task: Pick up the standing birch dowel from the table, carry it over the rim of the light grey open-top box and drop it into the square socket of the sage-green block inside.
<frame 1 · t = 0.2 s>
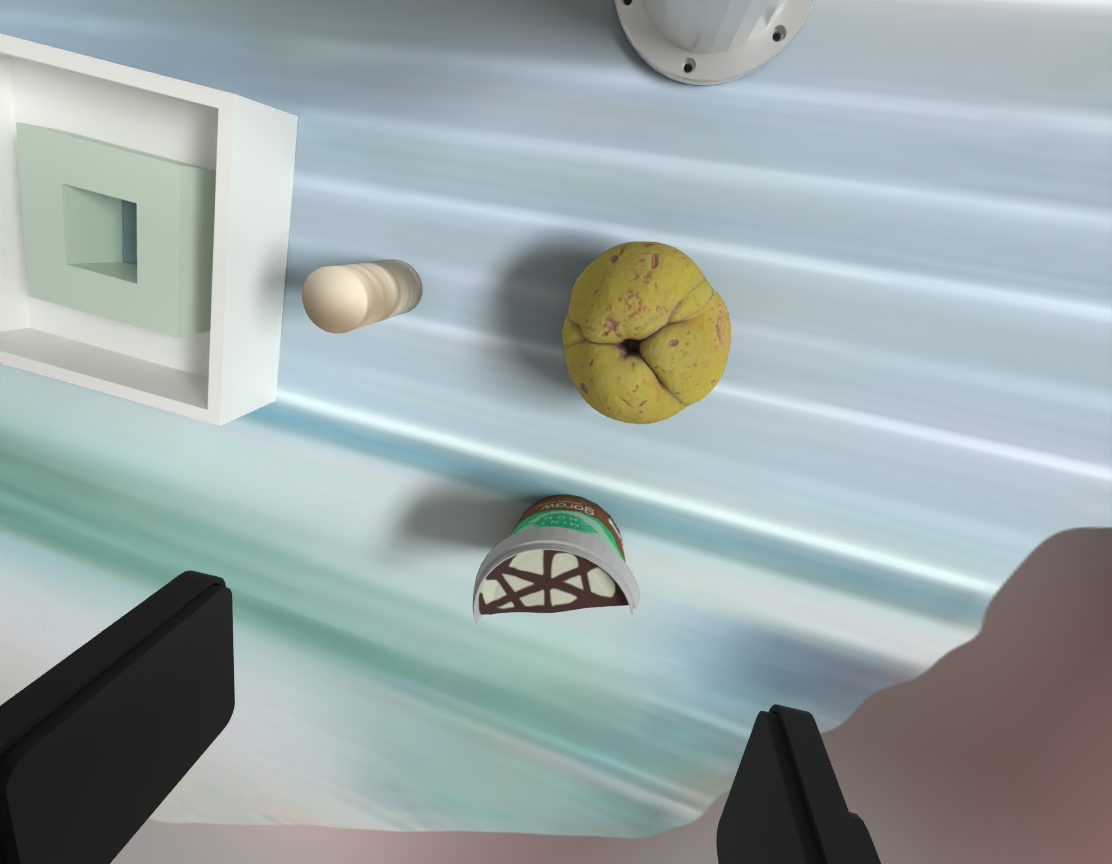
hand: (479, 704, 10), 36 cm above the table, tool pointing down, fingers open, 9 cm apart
fruit: (643, 325, 43), on the table
box: (155, 234, 46), on the table
food container: (562, 514, 49), on the table
peg: (397, 287, 45), on the table
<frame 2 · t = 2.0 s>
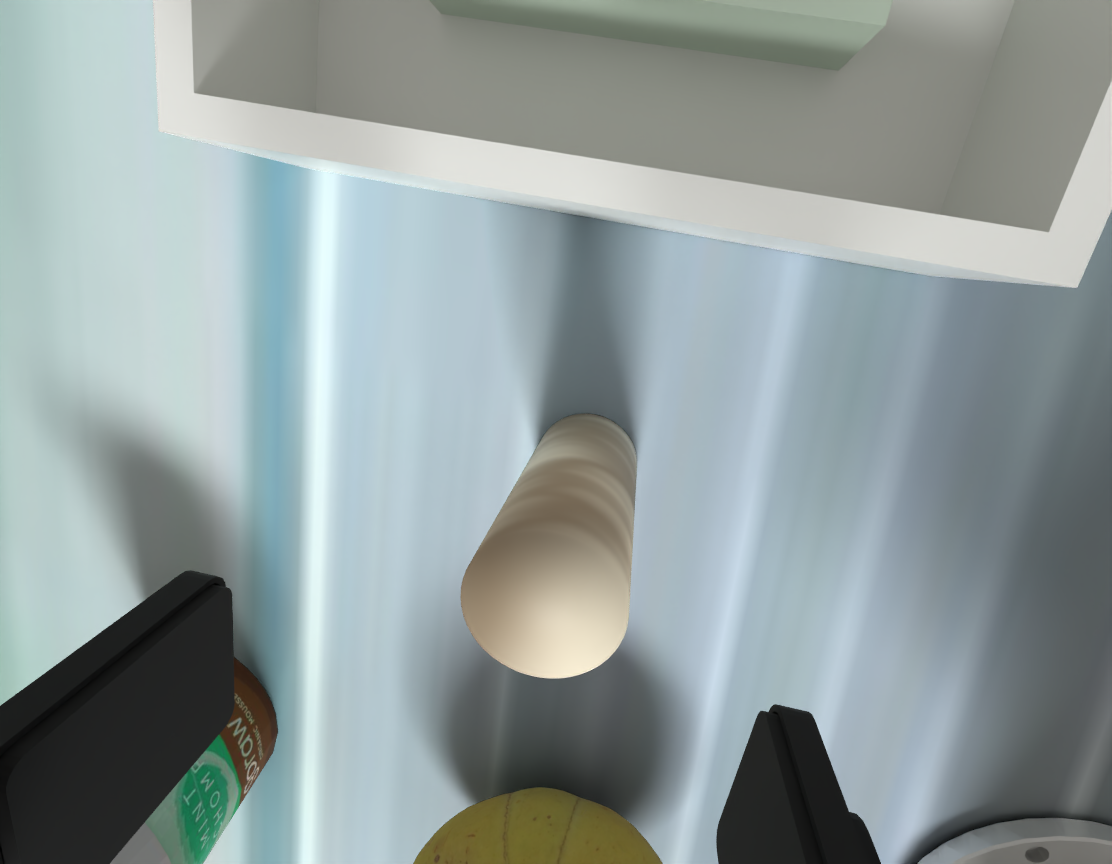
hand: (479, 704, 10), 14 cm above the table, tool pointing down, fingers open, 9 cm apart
fruit: (556, 817, 29), on the table
food container: (242, 702, 30), on the table
peg: (586, 462, 23), on the table
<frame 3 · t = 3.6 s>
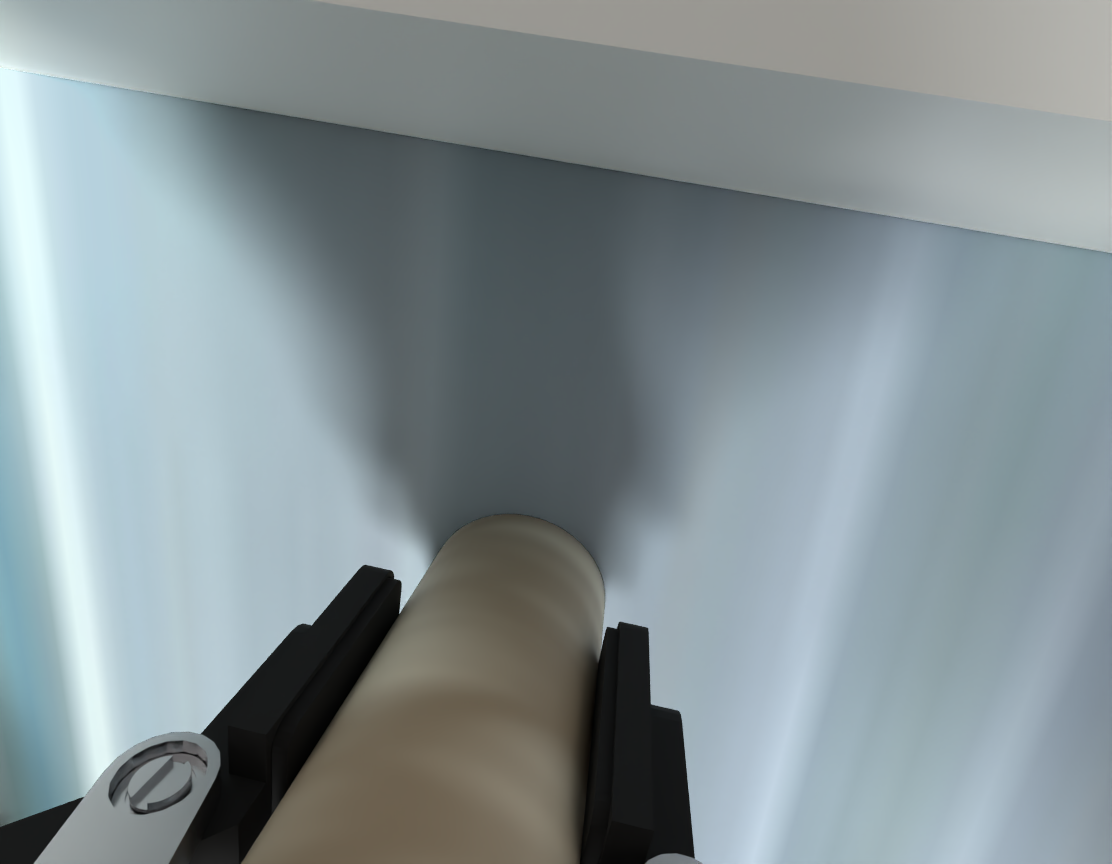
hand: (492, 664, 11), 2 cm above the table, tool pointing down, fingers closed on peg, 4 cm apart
peg: (516, 593, 13), on the table, touching gripper
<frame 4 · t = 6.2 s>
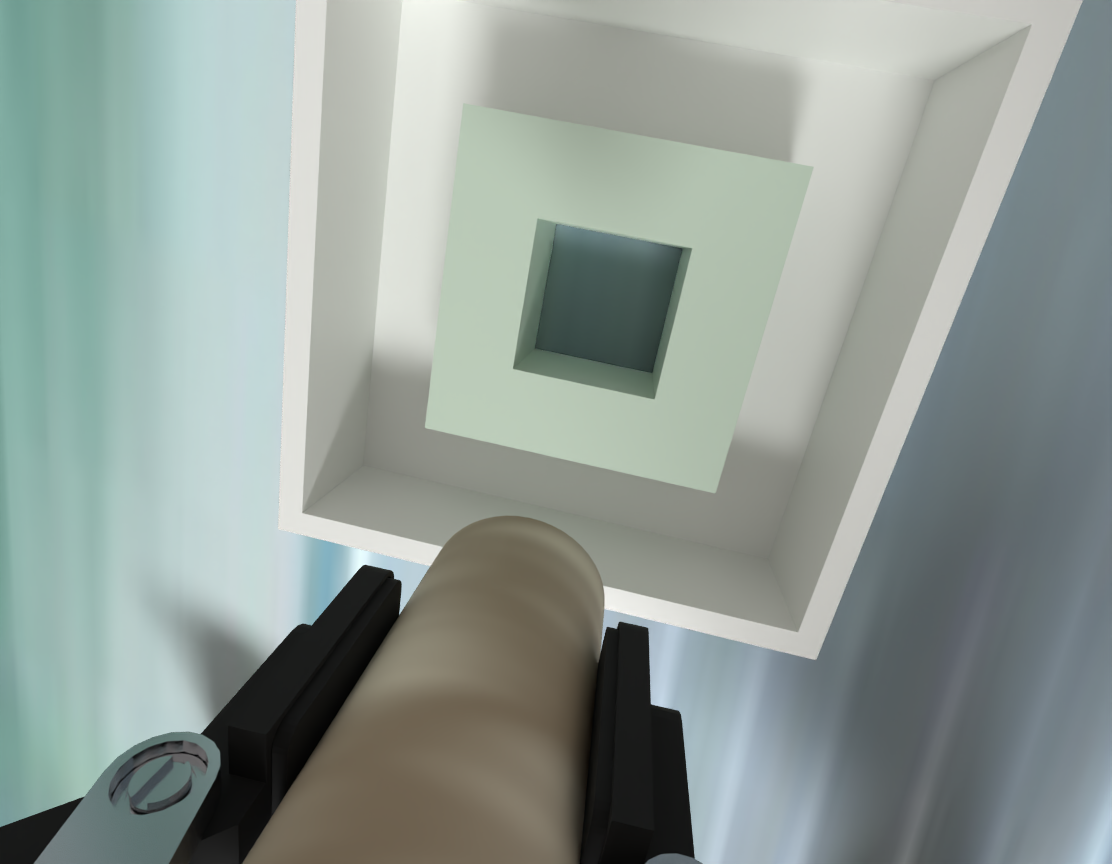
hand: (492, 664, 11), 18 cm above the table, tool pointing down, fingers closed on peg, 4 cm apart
box: (605, 300, 26), on the table
peg: (516, 595, 13), point 16 cm above the table, touching gripper
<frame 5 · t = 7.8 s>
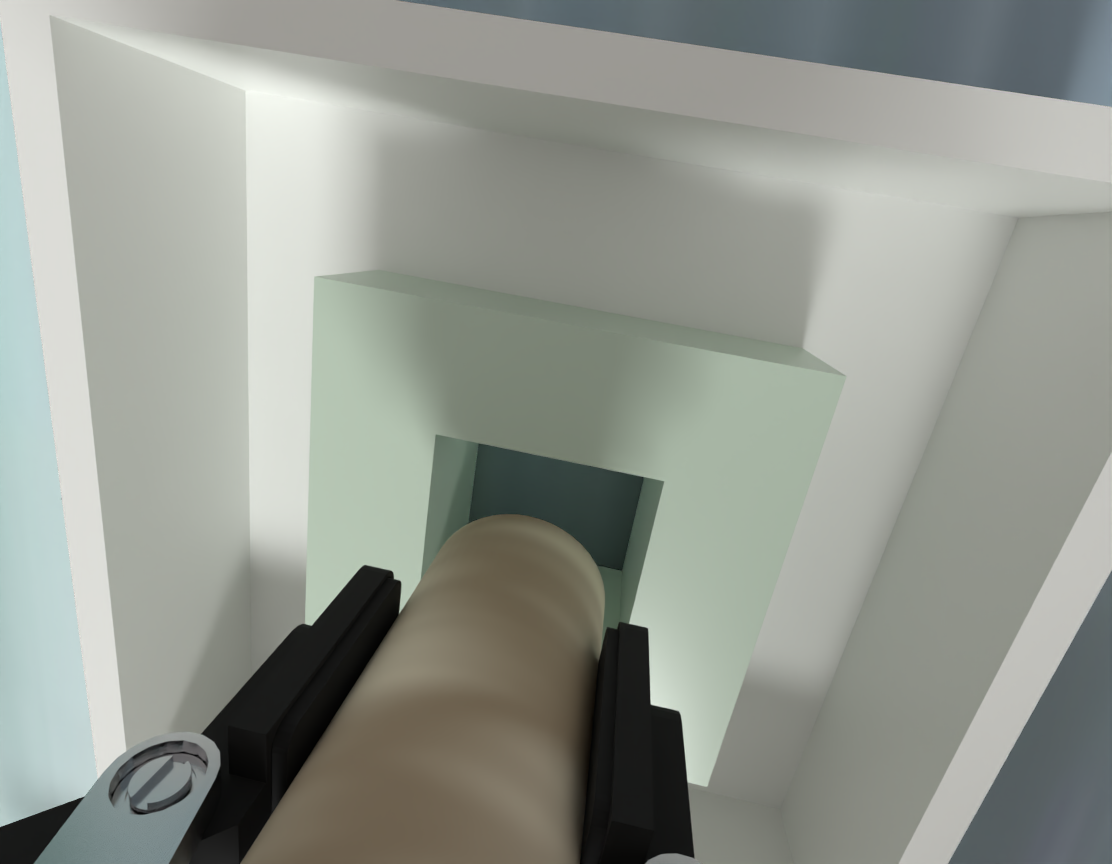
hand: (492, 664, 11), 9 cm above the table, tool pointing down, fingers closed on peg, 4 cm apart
box: (556, 481, 20), on the table
peg: (516, 594, 13), point 7 cm above the table, touching gripper
when the fingers open (6 cm above the table, at t = 9.1 s): peg drops 3 cm, resting in box.
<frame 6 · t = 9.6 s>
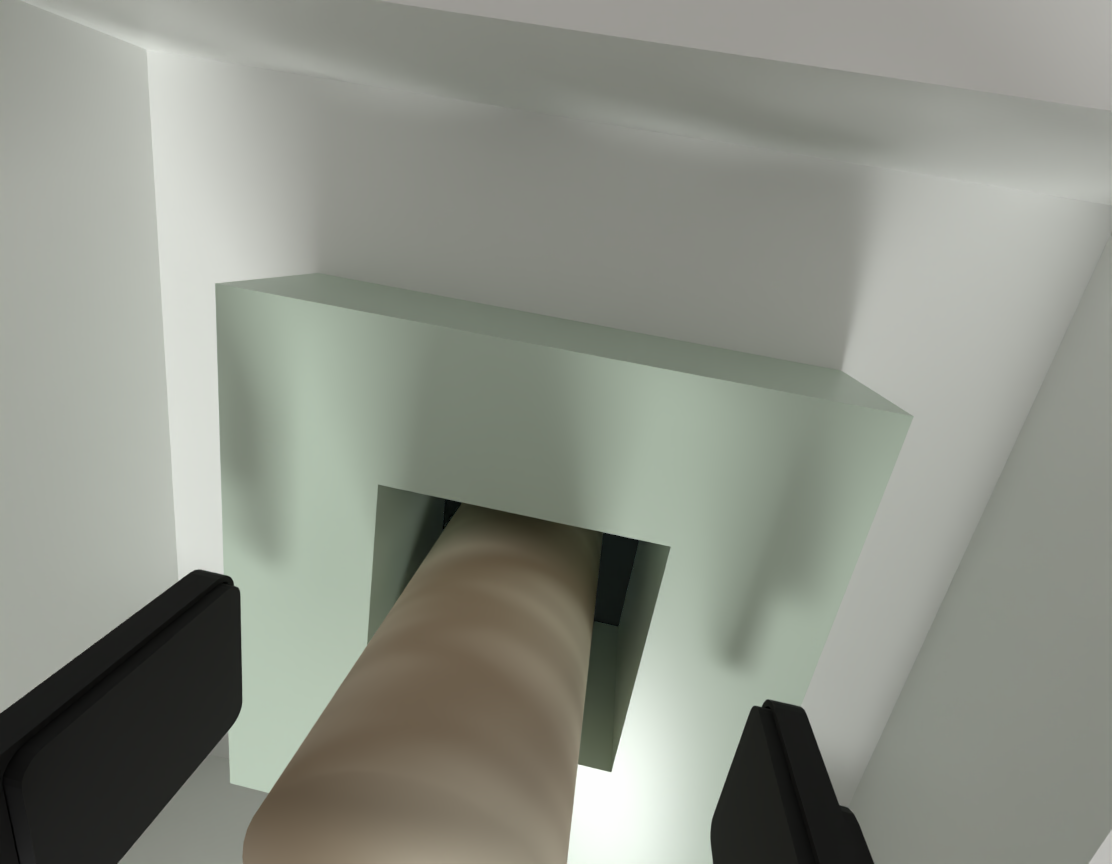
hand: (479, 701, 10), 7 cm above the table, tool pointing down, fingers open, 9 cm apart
box: (540, 523, 16), on the table
peg: (533, 523, 16), resting in box
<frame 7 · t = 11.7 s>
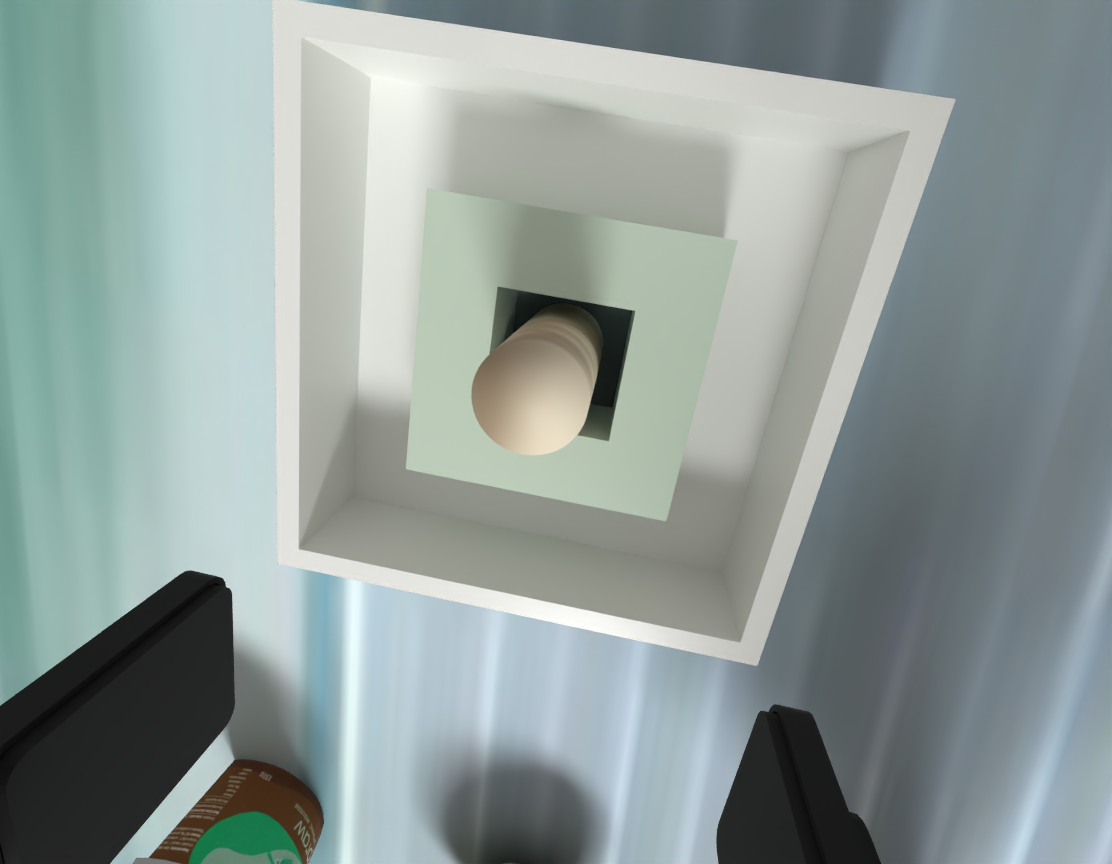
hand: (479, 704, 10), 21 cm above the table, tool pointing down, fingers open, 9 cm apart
box: (567, 344, 29), on the table
food container: (298, 802, 43), on the table
peg: (563, 344, 29), resting in box
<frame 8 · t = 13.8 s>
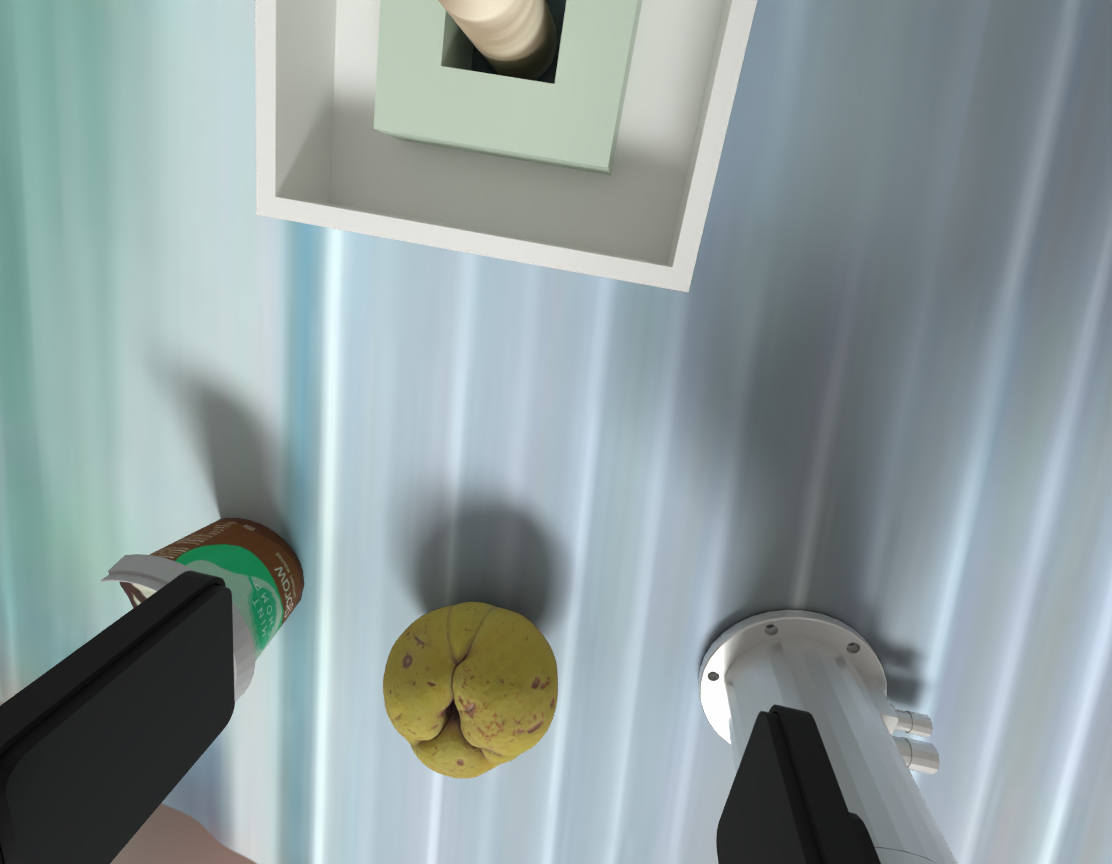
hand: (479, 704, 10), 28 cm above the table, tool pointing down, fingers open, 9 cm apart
fruit: (489, 634, 44), on the table
box: (524, 41, 32), on the table
food container: (280, 565, 45), on the table
peg: (520, 41, 32), resting in box
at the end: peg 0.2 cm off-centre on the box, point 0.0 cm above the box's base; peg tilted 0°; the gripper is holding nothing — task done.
